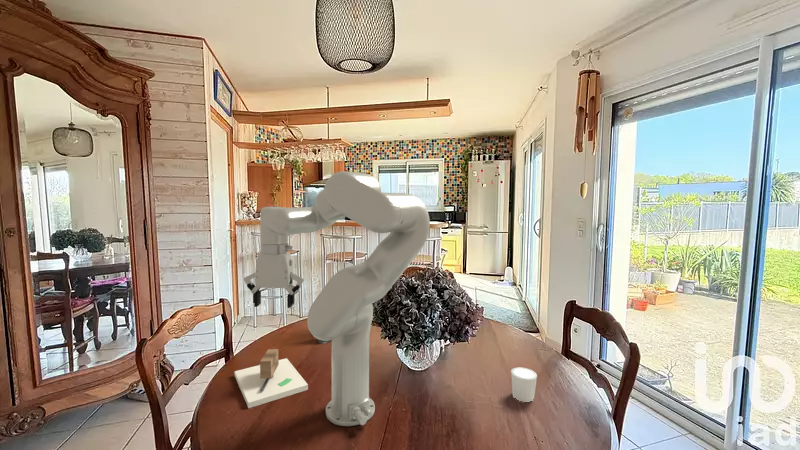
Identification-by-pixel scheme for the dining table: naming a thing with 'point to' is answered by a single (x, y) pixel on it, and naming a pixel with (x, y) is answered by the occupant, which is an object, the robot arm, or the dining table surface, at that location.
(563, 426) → the dining table surface
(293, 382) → the board
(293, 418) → the dining table surface
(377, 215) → the robot arm
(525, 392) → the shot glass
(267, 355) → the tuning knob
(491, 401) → the dining table surface
